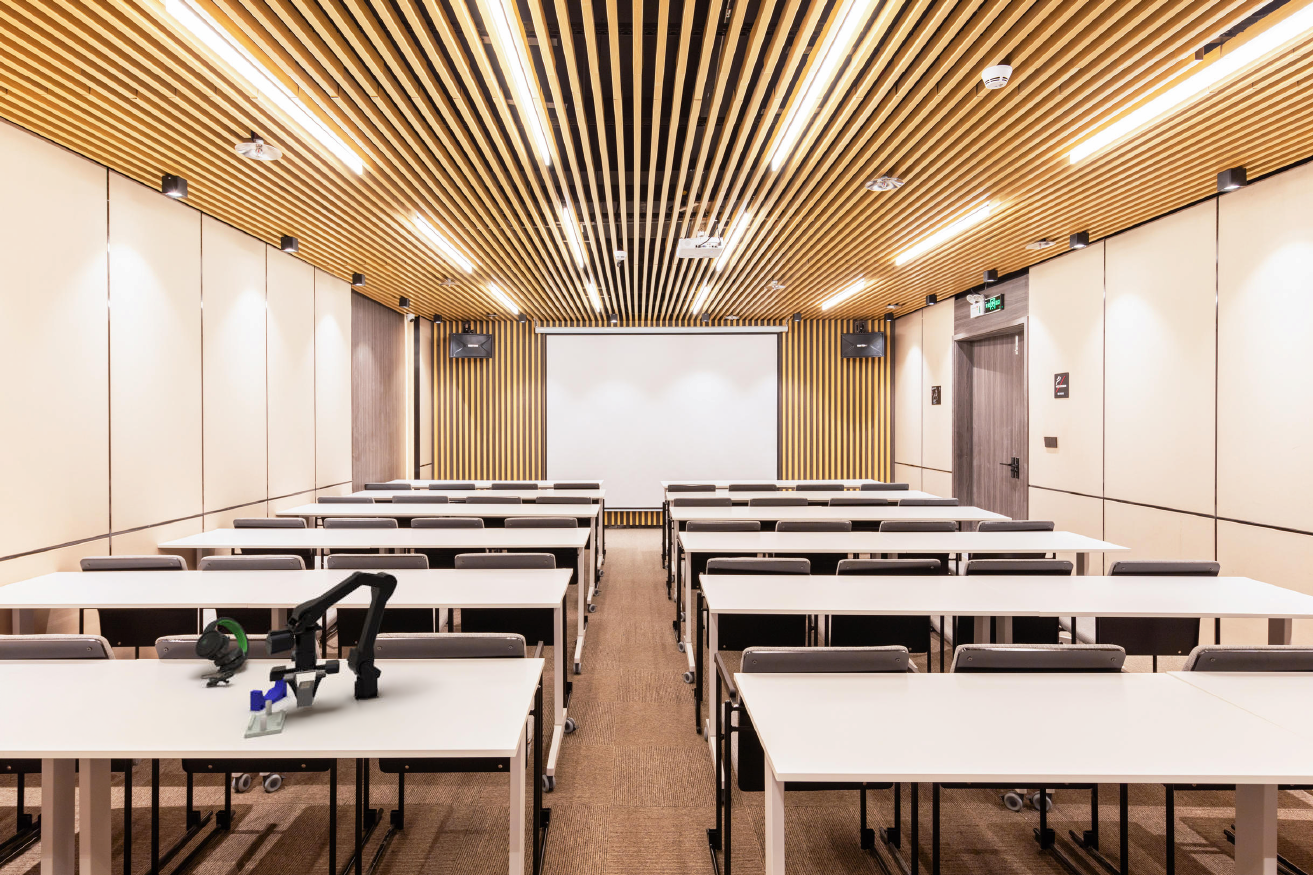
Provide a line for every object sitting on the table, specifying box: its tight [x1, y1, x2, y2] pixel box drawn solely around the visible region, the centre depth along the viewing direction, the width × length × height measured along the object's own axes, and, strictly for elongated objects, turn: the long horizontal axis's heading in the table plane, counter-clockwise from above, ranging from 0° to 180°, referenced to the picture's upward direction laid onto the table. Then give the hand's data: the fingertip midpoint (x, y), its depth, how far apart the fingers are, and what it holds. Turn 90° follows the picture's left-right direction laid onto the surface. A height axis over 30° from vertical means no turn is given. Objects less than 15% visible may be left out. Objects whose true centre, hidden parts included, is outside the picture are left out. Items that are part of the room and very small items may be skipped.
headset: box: [195, 616, 250, 688], centre depth 242 cm, size 18×14×29 cm
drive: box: [296, 679, 315, 709], centre depth 209 cm, size 4×8×5 cm, turn 21°
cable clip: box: [249, 678, 288, 712], centre depth 216 cm, size 12×4×6 cm, turn 169°
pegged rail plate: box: [243, 700, 287, 739], centre depth 200 cm, size 9×14×5 cm, turn 23°
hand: (305, 698), depth 209 cm, fingers closed on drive, 4 cm apart
